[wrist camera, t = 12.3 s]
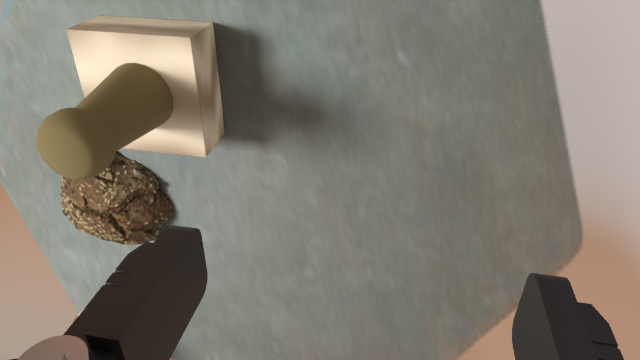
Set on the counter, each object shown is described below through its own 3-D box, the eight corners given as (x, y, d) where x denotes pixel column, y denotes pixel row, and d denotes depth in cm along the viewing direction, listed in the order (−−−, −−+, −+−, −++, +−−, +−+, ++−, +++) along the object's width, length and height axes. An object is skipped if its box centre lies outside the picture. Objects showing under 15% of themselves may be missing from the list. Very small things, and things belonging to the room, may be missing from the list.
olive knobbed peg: (125, 47, 40) (34, 97, 30) (185, 93, 41) (116, 154, 32) (98, 98, 43) (9, 157, 34) (155, 139, 44) (84, 207, 35)
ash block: (100, 15, 44) (66, 29, 40) (213, 22, 42) (190, 37, 38) (125, 123, 50) (97, 145, 46) (224, 133, 48) (205, 157, 44)
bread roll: (62, 205, 58) (34, 229, 54) (79, 127, 52) (49, 149, 47) (157, 252, 60) (137, 280, 55) (186, 183, 53) (165, 208, 49)
